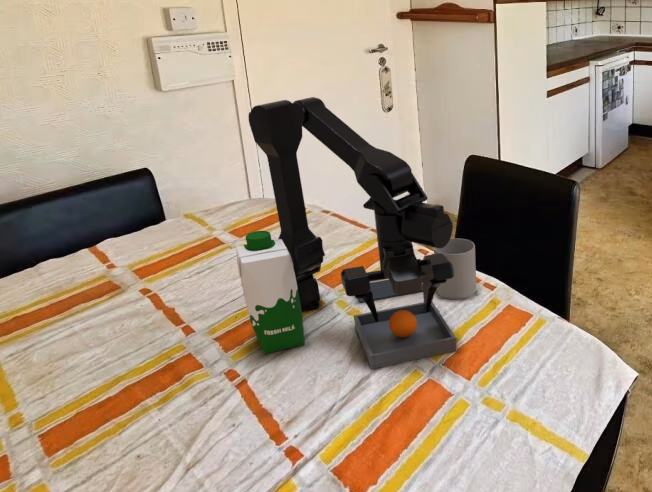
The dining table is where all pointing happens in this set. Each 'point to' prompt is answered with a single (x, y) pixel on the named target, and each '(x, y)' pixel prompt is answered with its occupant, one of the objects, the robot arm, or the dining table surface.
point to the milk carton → (270, 292)
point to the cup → (459, 269)
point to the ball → (403, 323)
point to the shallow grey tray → (392, 349)
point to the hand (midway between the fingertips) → (402, 316)
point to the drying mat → (384, 291)
